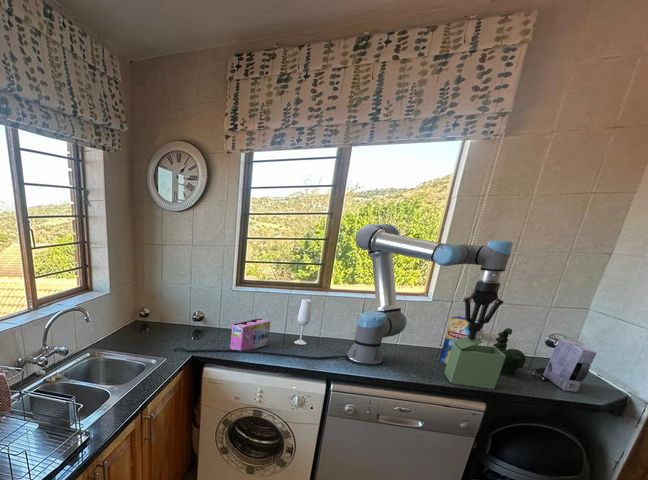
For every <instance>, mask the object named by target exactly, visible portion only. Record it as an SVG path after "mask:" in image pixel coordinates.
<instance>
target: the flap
mask: <svg viewBox="0 0 648 480" xmlns="http://www.w3.org/2000/svg"><path fill="white" fill-rule="evenodd" d="M468 337H469V336H467V337H464V338H461V339H458V340H455V341H454V342H455V343H456V344H457V345H458V347H459V348H460V349H461V350H462V349H465V348H469V347H472V346H475V345H481V344H483V343H484V342H483V341H482V340H481V338H480V339H479V338H478V337H476V336H475V339H474V340H471V339H469V338H468Z"/></svg>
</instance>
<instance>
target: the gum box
mask: <svg viewBox="0 0 648 480" xmlns="http://www.w3.org/2000/svg"><path fill="white" fill-rule="evenodd" d="M270 329H271V320H264V319H263V318H255V319H250V320H246V321H241V322H237V323H236V322H235V323H232V324H231V335H230V346H229V350H240V351H242V350H250V351H252V350H254V349H258V348H262V347H265V346H266V347H267V346H268V345H269V341H270Z"/></svg>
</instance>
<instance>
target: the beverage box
mask: <svg viewBox="0 0 648 480" xmlns="http://www.w3.org/2000/svg"><path fill="white" fill-rule="evenodd" d="M470 319H471V317H470ZM478 319H479V318H476V321H475V323H478ZM469 324H470V322H467V321H466V320H465V316H461V315H458V316H452V317H450V320H449V324H448V327H447V331H446V334H445V338H444V341H443V345H442V347H441V351H440V355H439V359H438V362H439V363H441V364H442V363H443V364H445V365H447V362H448V358H449V355H450V352H451V348H452V345H453V343H455V342H454V341H455V340H458V339H461V338H464V337H467V336H469V334H470V331H469V330H468V327H469ZM484 326H485V323H484V324H483V325H482V326H481V329H480V331H479V332H477V333H476V337H478V338H479V339H480V340H481V335H482V333H483V329H484Z"/></svg>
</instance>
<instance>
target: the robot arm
mask: <svg viewBox="0 0 648 480" xmlns="http://www.w3.org/2000/svg"><path fill="white" fill-rule="evenodd" d="M400 234H401V233H400V231H399V229H398V228H397V227H396V226H395V225H393V224H388V223H378V224H377V223H375V224H374V223H371V224H365V225H364V226H362V227H360V228H359V229H358V231H357V232H356V234H355V237H354V238H355V239H354V240H355V245H356V246H357V247H358V248H359V249H361V250H364V251H367V256H368V257H369V258H371V261H372V272H373V283H374V284H373V285H374V295H375V296H374V297H375V308H374V309H373V310H372V311H371V310H369V311H365V312H362V313H360V314H359V317H358V319H357V324H356V329H355V335H354V339H353V343H352V345H351V347H350V348H349V350H348V352H347V354H346V355H330V356H329V355H328V356H311V355H310V356H308V355H300V354H290V353H282V352H281V353H280V352H272V351H261V350H242V351H240V350H232V349H222V348H221V349H215V348H214V349H209V348H207V349H187V348H184V347H175V348H174V349H173V350H172V351H173V352H175V351H177V350H180V351H184V352H188V353H189V352H190V353H195V352H197V353H198V352H229V353H230V352H232V353H233V352H234V353H251V354H252V353H253V354H265V355H274V356H283V357H292V358H302V359H310V360H311V359H312V360H325V359H341V358H342V359H343V358H344V359H345V358H346V359H347V360H348V361H349V362H351V363H355V364H359V365H366V366H378V365H381V364H382V362H383V356H382V349H381V346H382V341H383V338H388V337H394V336H396V335H399V334H401V333H402V332H403V331H404V330H405V329H406V327H407V317H406V315H405V314H404V313H403V312H402V309H401V306H399V305H398V304H397V294H396V282H395V281H396V279H395V269H394V256H393V255H394V254H396V255H401V256H405V257H410V258H414V259H419V260H423V261H428V262H432V263H436V264H437V265H438V266H442V267H450V266H457V265H475V266H480V270H479V273H478V276H477V281H476V283H475V287H474V289H473V292H472V293H471V294H470V295H469V296H467V297H463V302H464V317H465V320H466V321H467V322H470V324H469V327H468V330H469V331H470V334H469V337H468V338H469V339H471V340H474V339H475V336H476V333H477V332H479V331H480V329H481V326H482V325H483V324H484V325H485V324H489V323H490V321H491V320H492V318H493V316H494V315H495V313H496V312H497V310H498V308H499V307H500V306H501V305H502V304H504V302H505V301H504V300H502V299H500V298H499V295H498V293H499V290H500V288H501V282H502V281H503V278H504V275H505V272H506V268H507V265H508V262H509V259H510V256H511V255H512V249H513V242H512V241H511V240H489V241H488V243H487V244H485V245H480V244H467V243H461V244H459V243H458V244H449V243H442V242H439V241H438V242H437V241H434V240H433V241H432V240H427V239H422V238H417V237H411V236H407V235H400ZM472 301H473V303H474V305H473V310H472V313H471V302H472ZM492 303H494V304H492ZM491 304H492V306H491V307H490V305H491ZM489 307H490V308H489ZM488 309H489V311H488ZM487 311H488V312H487ZM478 315H479V316H478ZM470 318H471V319H470ZM476 319H478V323H475V321H476Z"/></svg>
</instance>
